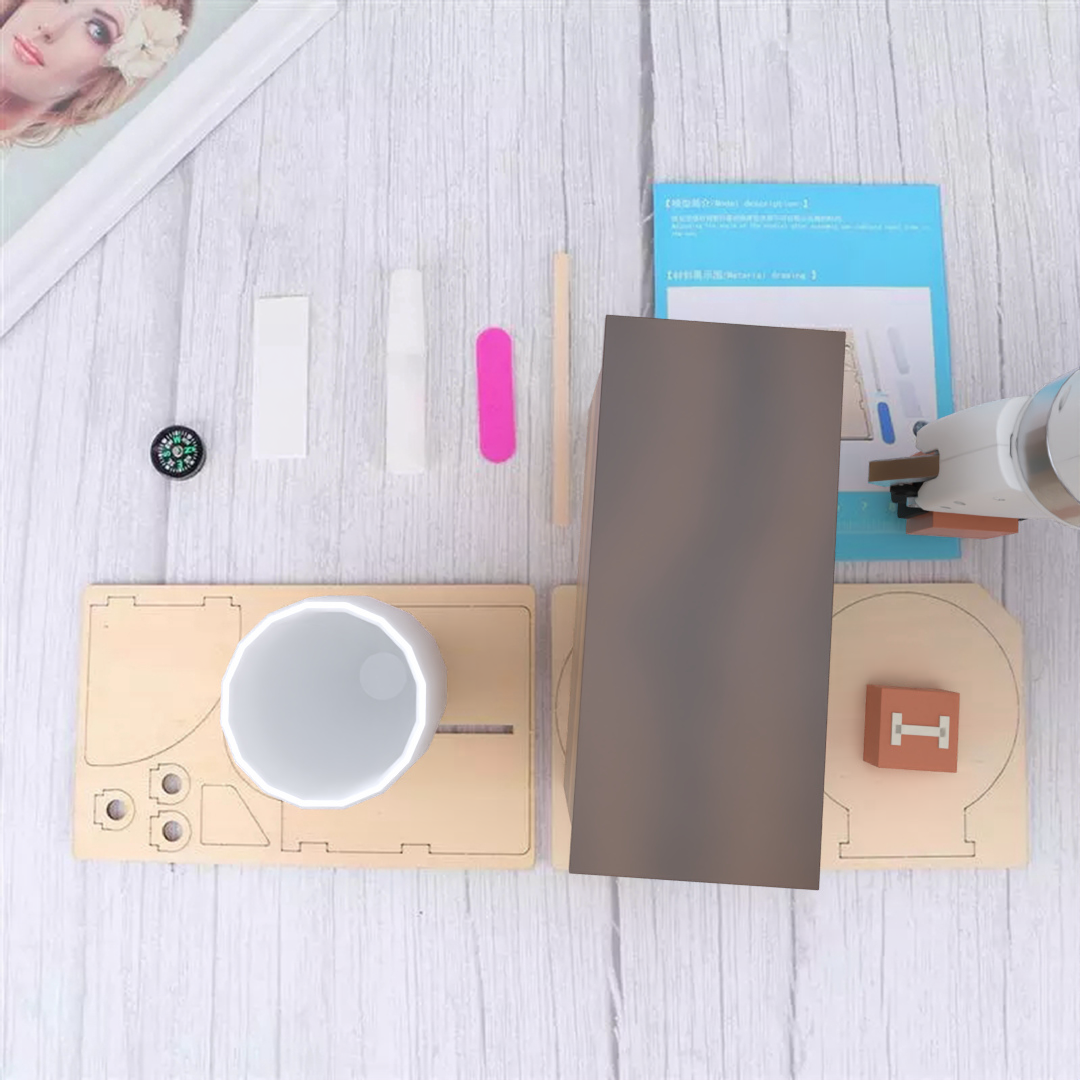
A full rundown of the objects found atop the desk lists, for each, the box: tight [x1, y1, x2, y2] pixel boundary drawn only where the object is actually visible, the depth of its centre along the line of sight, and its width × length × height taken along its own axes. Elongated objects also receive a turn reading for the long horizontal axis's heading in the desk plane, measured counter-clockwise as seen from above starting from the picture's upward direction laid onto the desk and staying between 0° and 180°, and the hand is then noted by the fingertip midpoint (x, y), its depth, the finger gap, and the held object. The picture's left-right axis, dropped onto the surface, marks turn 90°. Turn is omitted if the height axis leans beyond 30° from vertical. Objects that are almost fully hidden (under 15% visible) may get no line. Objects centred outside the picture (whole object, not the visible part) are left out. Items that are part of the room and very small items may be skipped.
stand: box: [562, 366, 602, 825], centre depth 55 cm, size 10×25×22 cm, turn 176°
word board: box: [568, 314, 847, 891], centre depth 43 cm, size 11×25×1 cm, turn 176°
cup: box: [219, 594, 448, 810], centre depth 54 cm, size 10×10×22 cm
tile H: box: [905, 450, 1020, 540], centre depth 59 cm, size 5×5×5 cm
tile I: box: [862, 684, 961, 774], centre depth 63 cm, size 5×5×5 cm
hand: (949, 496), depth 61 cm, fingers closed on tile H, 5 cm apart
